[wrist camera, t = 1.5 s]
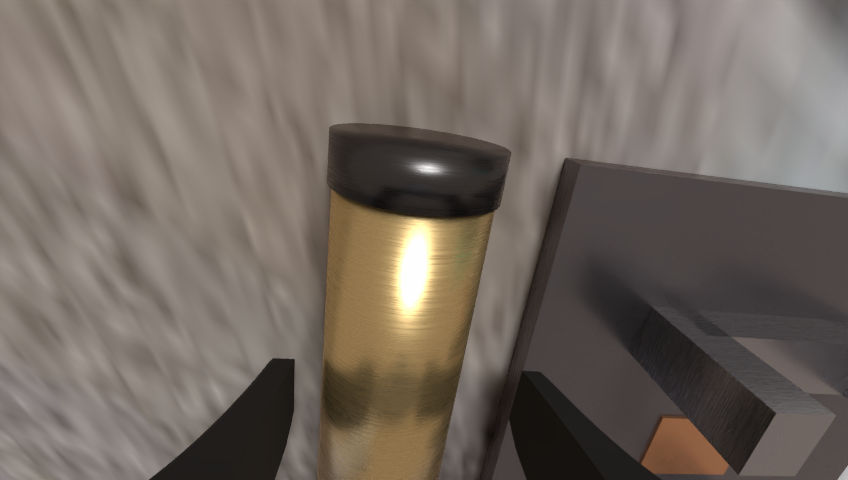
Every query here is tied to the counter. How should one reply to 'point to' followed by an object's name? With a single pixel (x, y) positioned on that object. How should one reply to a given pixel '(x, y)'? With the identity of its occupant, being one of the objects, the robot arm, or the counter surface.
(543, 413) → the robot arm
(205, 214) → the counter surface
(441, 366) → the brass tube
